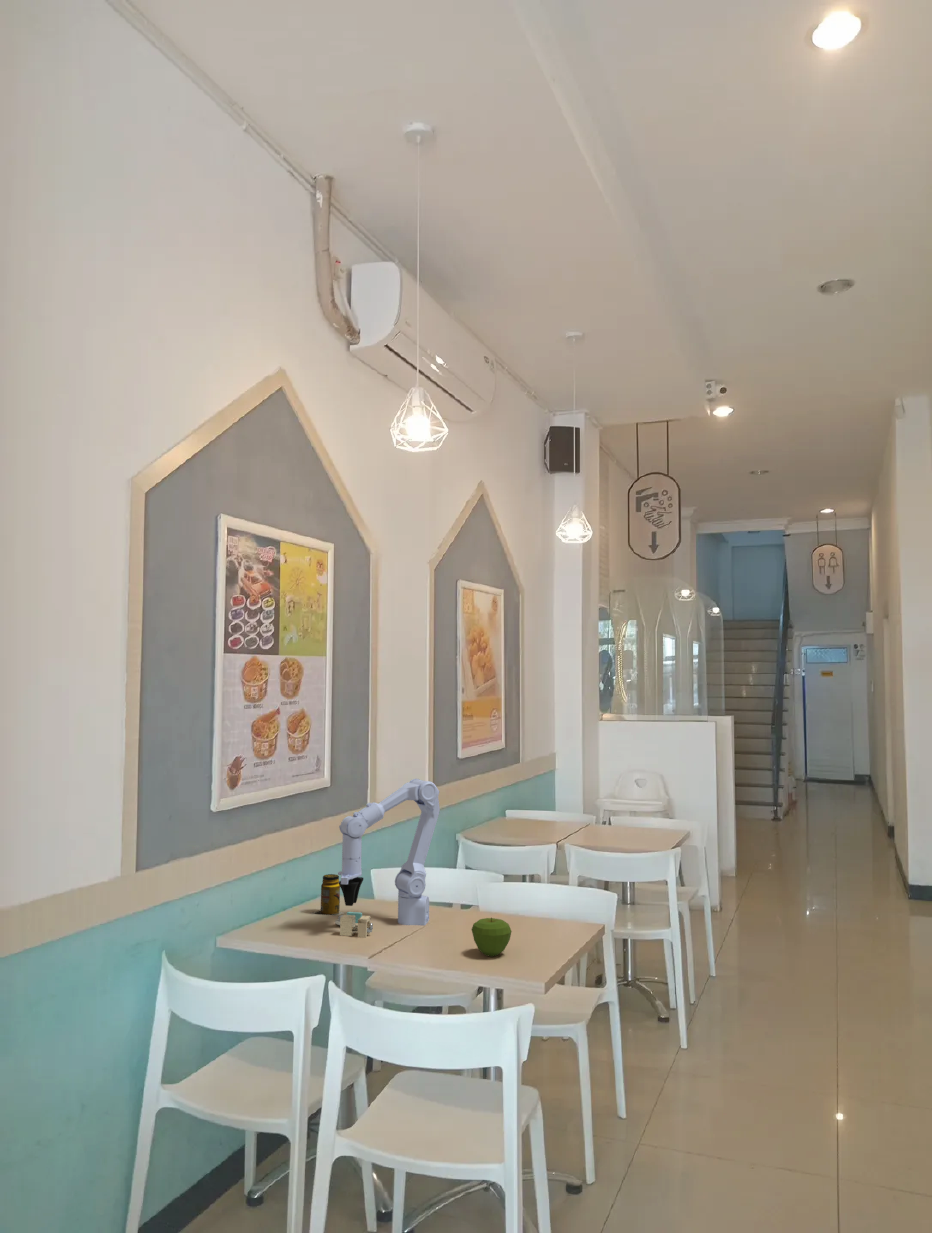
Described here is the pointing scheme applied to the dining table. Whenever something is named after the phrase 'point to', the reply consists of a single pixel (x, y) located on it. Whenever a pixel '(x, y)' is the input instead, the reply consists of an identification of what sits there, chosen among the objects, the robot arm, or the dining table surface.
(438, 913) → the dining table surface
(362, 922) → the grey dial panel
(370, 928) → the beige rectangular block
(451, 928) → the dining table surface
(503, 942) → the apple
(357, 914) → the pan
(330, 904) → the condiment
